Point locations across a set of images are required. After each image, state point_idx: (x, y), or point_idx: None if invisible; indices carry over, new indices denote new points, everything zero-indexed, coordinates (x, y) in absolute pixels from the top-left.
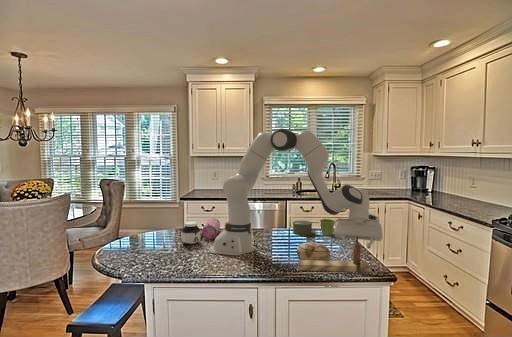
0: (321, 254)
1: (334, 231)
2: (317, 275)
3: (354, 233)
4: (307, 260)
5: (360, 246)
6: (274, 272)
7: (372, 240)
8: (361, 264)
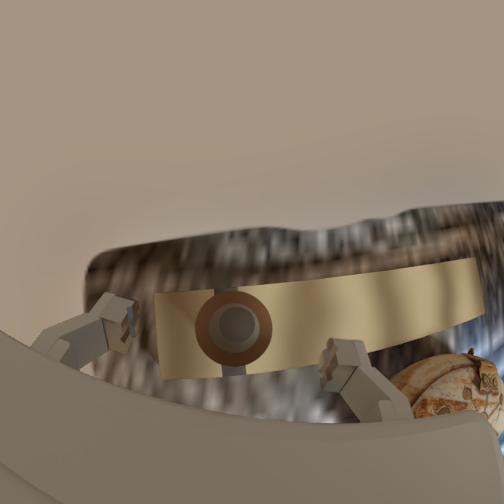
0: (433, 365)
1: (489, 424)
2: (402, 220)
3: (271, 437)
4: (462, 318)
5: (200, 310)
6: (495, 233)
7: (56, 328)
8: None
